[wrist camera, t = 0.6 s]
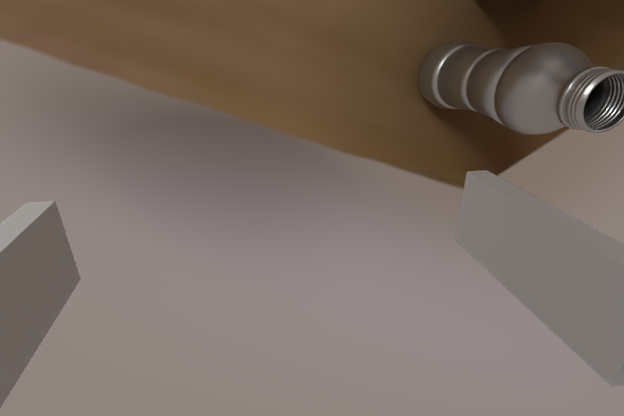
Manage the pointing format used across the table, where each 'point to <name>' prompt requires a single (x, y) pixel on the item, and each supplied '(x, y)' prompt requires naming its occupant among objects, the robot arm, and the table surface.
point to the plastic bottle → (525, 86)
